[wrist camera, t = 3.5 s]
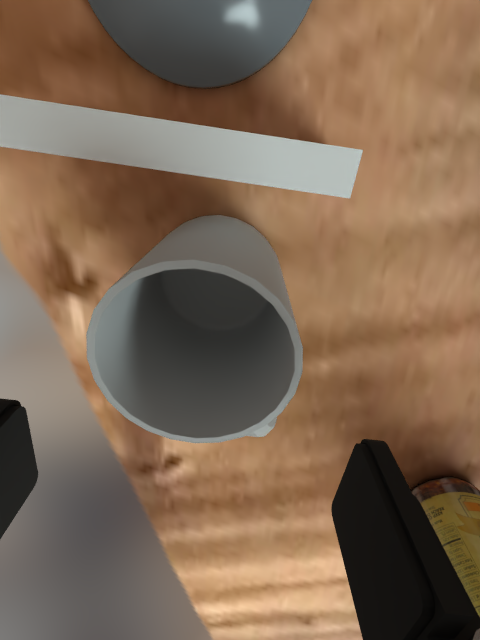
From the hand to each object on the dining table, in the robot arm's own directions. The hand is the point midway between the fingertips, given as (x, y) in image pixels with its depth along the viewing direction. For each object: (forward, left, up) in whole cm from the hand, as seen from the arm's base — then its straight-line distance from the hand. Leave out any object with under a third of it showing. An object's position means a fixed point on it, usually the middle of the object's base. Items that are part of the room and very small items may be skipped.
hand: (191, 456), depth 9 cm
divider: (-8, -2, -11) cm, 14 cm away
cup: (0, 0, -12) cm, 12 cm away
